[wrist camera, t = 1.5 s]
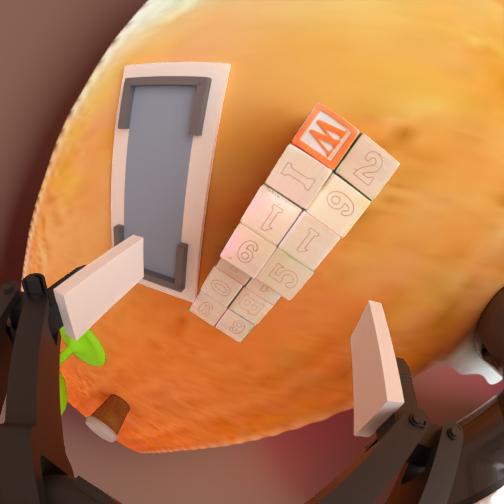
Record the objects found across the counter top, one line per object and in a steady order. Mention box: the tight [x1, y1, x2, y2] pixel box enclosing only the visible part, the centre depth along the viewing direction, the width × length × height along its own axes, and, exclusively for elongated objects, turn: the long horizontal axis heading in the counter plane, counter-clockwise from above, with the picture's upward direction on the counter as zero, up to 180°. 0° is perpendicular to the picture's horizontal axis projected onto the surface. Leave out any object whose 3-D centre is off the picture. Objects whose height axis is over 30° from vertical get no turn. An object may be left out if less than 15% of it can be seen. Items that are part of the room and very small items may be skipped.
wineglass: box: [59, 326, 106, 415], centre depth 43 cm, size 16×16×18 cm
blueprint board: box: [111, 62, 231, 303], centre depth 30 cm, size 14×30×2 cm, turn 169°
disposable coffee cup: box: [86, 395, 130, 442], centre depth 54 cm, size 10×10×12 cm
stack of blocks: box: [189, 103, 400, 343], centre depth 24 cm, size 21×6×12 cm, turn 148°
